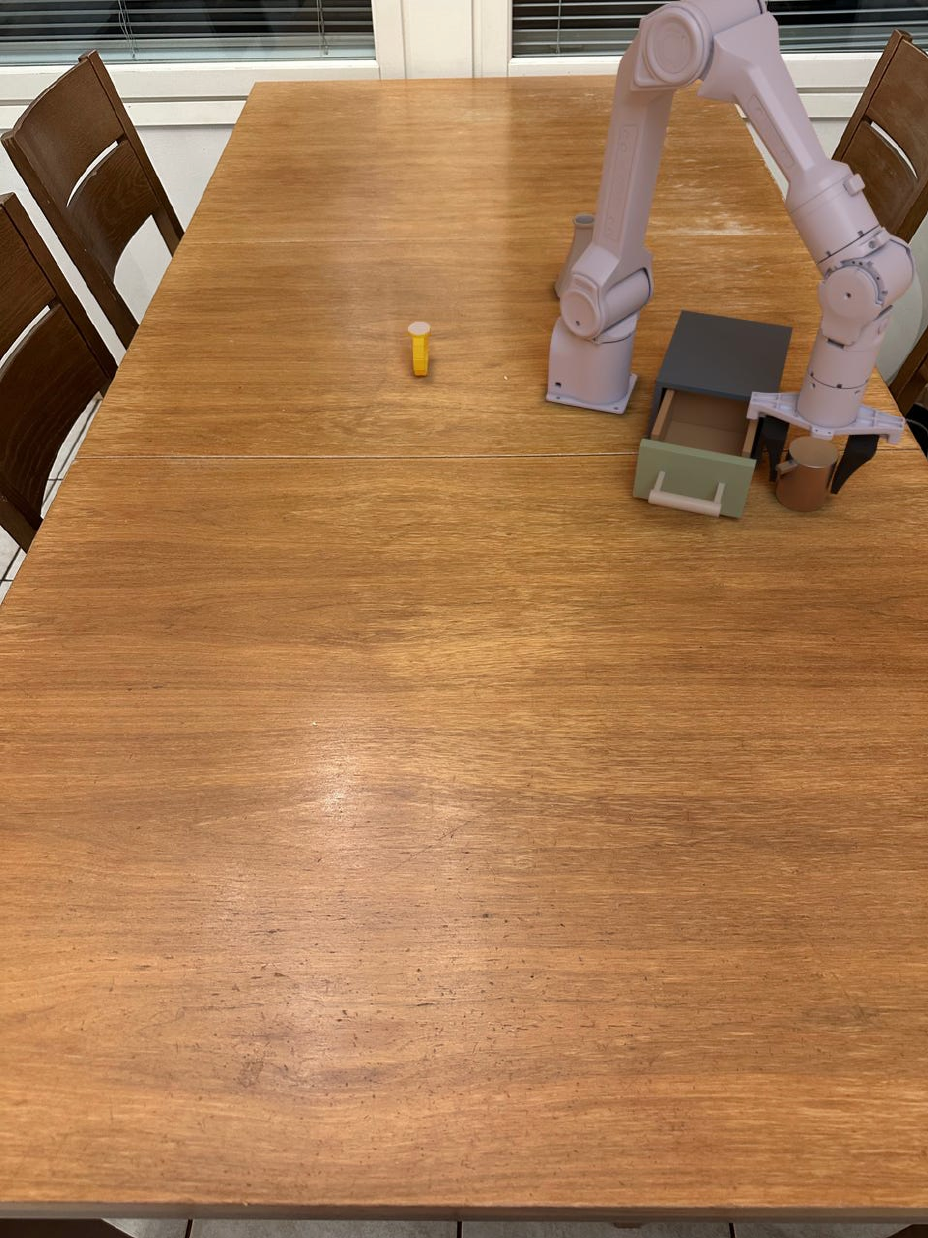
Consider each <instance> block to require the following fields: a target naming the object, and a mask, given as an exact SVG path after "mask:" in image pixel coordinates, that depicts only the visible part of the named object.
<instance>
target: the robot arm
mask: <svg viewBox="0 0 928 1238" xmlns="http://www.w3.org/2000/svg"><path fill="white" fill-rule="evenodd" d="M766 4H767V3H766V1H765V0H677V1H676V0H675V1H671V2H668V3H666V4H663V5H662V6H660V7H658V8H657V9H655V10H653V11H651V12H650V13H647V14H646V15H644V16H643V17H641V18H640V20H639V24H638V25H639V26H638V32H637V34H636V35H635V37H634V39H633V40H632V42H631V43H630V45H629V46H628V47H627V49H626V51H625V52H624V53H623V55H622V56H621V58H620V60H619V63H618V67H617V72H616V78H615V84H614V92H613V97H612V103H611V111H610V116H609V117H610V118H609V124H608V131H607V138H606V144H605V150H604V157H603V164H602V170H601V176H600V183H599V190H598V196H597V201H596V209H595V214H594V215H595V222H594V228H593V235H592V241H591V243H590V245H589V246H588V247H587V249H586V250H585V251H584V253H583V254H582V255H581V257H580V258H579V259H578V260H577V262H576V263H575V264H574V266H573V267H572V269H571V274H570V279H569V282H568V284H567V286H566V287H565V288H564V290H563V291H562V293H561V296H560V297H559V310H560V314H561V315H559V316H558V318H557V319H556V321H555V323H554V326H553V329H552V333H551V338H550V344H549V352H548V353H549V354H548V374H547V376H548V377H547V393H546V395H545V400H546V401H547V402H551V403H557V404H562V405H568V406H573V407H579V408H583V409H589V410H595V411H600V412H605V413H610V414H611V413H612V414H616V415H624V413H625V411H626V408H627V406H628V403H629V401H630V399H631V396H632V393H633V391H634V388H635V386H636V383H637V381H638V374H636V373H634V372H633V373H632V363H633V355H634V354H633V353H634V347H635V339H636V331H637V325H638V324H637V322H638V320H640V316H641V309H643V308H645V307H646V306H648V305H649V303H650V302H651V301H652V298H653V296H654V291H655V282H654V277H653V270H652V269H653V268H652V266H653V260H654V254H653V252H652V251H651V250H650V249H649V248H647V246H645V241H646V240H645V238H646V235H647V231H648V225H649V220H650V215H651V210H652V204H653V200H654V195H655V190H656V185H657V181H658V175H659V170H660V165H661V160H662V155H663V150H664V145H665V140H666V134H667V129H668V125H669V119H670V115H671V109H672V105H673V100H674V96H675V92H676V91H678V90H679V89H685V88H687V87H689V86H691V85H693V84H694V83H695V82H697V81H698V80H700V81H701V82H702V83H701V84H700V86H699V88H698V89H697V91H696V94H695V95H696V96H697V97H698V98H701V99H706V100H712V101H716V102H717V101H718V102H722V103H728V104H734V105H737V106H738V107H739V108H740V110H741V111H742V113H743V114H744V116H745V118H746V119H747V121H748V122H749V124H750V125H751V127H752V129H753V130H754V132H755V134H757V136H758V138H759V140H760V141H761V142H762V144H763V146H764V147H765V149H766V150H767V152H768V153H769V156H770V157H771V158H772V160H773V161H774V163H775V164H776V166H777V167H778V169H779V171H780V172H781V174H782V175H783V177H784V179H785V180H786V181H787V183H788V187H787V192H786V195H785V201H784V208H785V211H786V213H787V215H788V216H789V218H790V220H791V222H792V224H793V226H794V227H795V229H796V231H797V232H798V235H799V236H800V238H801V240H802V242H803V244H804V245H805V247H806V249H807V251H808V253H809V255H810V256H811V259H812V260H813V262H814V264H815V266H816V268H817V269H818V271H819V273H820V275H821V277H822V278H823V280H821V281H819V282H818V283H817V291H816V292H817V293H816V294H817V301H818V304H819V306H820V309H821V313H822V315H821V319H820V322H819V325H818V328H817V331H816V335H815V339H814V342H813V345H812V349H811V353H810V356H809V360H808V362H807V367H806V370H805V373H804V378H803V381H802V384H801V388H800V390H799V391H800V392H798V391H796V392H793V391H792V392H778V393H760V392H752V396H751V400H750V404H749V408H748V412H747V416H746V418H749V419H754V420H756V419H757V418H758V416H759V417H765V421H764V425H763V429H762V438H763V441H764V443H765V449H766V452H767V455H768V456H767V457H768V464H769V478H768V482H770V483H776V482H777V479H778V475H779V472H778V471H777V470H775V468H776V465H777V464H780V463H781V460H782V456H783V455H782V454H783V452H784V448H785V445H786V443H787V438H788V433H789V429H790V426H791V424H792V425H794V426H795V427H799V428H802V429H804V430H806V431H809V432H810V433H809V436H811V437H813V438H816V439H821V440H827V441H832V440H833V439H834V436H848V438H847V439H846V443H845V447H844V450H843V453H842V455H841V457H840V460H839V462H838V463H837V465H836V468H835V470H834V473H833V476H832V479H831V485H830V486H831V488H830V494H831V495H835V496H836V495H838V494H839V492H840V491H841V489H842V487H844V485H845V483H846V482H847V480H849V478H850V477H851V476H852V475H853V474H854V473H855V472H856V471H857V470H859V468H861V467H862V466H864V465H865V464H866V463H868V462H869V461H871V460H872V459H873V458H874V456H875V455H876V453H877V450H878V443H879V440H880V439H884V440H886V443H887V444H889V445H895V446H899V444H900V441H901V440H902V439H901V438H902V436H903V434H904V430H905V423H906V422H905V421H906V418H905V417H903V416H898V415H894V414H891V413H888V412H885V411H882V410H880V409H877V408H874V407H872V406H869V405H866V404H864V403H863V399H864V397H865V393H866V391H867V387H868V385H869V382H870V380H871V376H872V373H873V371H874V368H875V365H876V362H877V359H878V357H879V354H880V350H881V348H882V345H883V343H884V339H885V336H886V331H887V328H888V325H889V323H890V319H891V317H892V314H893V311H894V309H895V307H894V306H893V304H894V303H895V302H896V301H897V300H899V299H900V298H901V297H902V296H904V295H905V294H906V293H907V291H908V290H909V289H910V288H911V286H912V285H913V282H914V280H915V277H916V272H917V271H916V270H917V269H916V268H917V267H916V260H915V257H914V255H913V252H912V247H911V246H910V245H909V243H907V242H906V241H905V240H904V239H902V238H901V237H899V236H896V235H893V234H892V233H889V232H888V231H887V229H886V227H885V226H883V227H882V226H881V224H880V222H879V221H878V219H877V216H876V215H875V213H874V211H873V209H872V207H871V206H870V203H869V201H868V200H867V198H866V196H865V194H864V192H863V189H864V188H865V187H866V184H865V182H864V181H863V179H862V176H861V175H860V174H859V173H855V174H853V171H852V170H851V167H850V166H849V164H848V163H845V162H841V161H839V160H835V159H832V158H831V159H830V158H829V157H827V156H826V153H825V150H824V149H823V147H822V144H821V142H820V140H819V138H818V135H817V133H816V130H815V129H814V126H813V123H812V122H811V119H810V117H809V115H808V113H807V110H806V108H805V106H804V103H803V101H802V99H801V97H800V94H799V92H798V89H797V88H796V86H795V83H794V81H793V79H792V76H791V74H790V71H789V70H788V67H787V65H786V63H785V60H784V58H783V55H782V53H781V48H780V47H781V46H780V31H779V24H778V23H779V22H778V21H777V20H776V18H775V17H774V15H773V14H772V13H771V12H770V11H768V9H767V5H766Z"/></svg>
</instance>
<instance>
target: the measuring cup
mask: <svg viewBox="0 0 928 1238" xmlns="http://www.w3.org/2000/svg"><path fill="white" fill-rule="evenodd" d="M785 454H786V455H785V458H784V461H783V462H780V464H777V465H776V468H775V470H777V471H778V474H780V475H779V478H778V482H777V486H776V489H775V496H776V500H777V501H778V502H779V503H780V504H781V505H782V506H784V507H785V508H787V509H790V510H792V511H796V512H802V513H803V512H804V513H805V512H814V511H815V510H818V509H819V508H821V507H822V506H823V504H824V502H825V500H826V497H827V494H828V491H829V488H830V486H831V483H832V480H833V477H834V474H835V471H836V469H837V466H838V463H839V462H838V461H839V459H840V451H839V449H838V448H837V447H836V446H835V445H834V444H833V443H832V442H831V441H830V440H821V439H816V438H813V437H811V435H809V436H806V435H805V436H800V437H797V438H794V440H791V442H790V443H789V445H788V447H787V451H786V453H785Z"/></svg>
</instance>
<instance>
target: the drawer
mask: <svg viewBox="0 0 928 1238" xmlns="http://www.w3.org/2000/svg"><path fill="white" fill-rule="evenodd" d="M749 404H750V403H749V402H744V401H738V400H732V399H726V398H721V397H715V396H709V395H704V394H698V393H692V392H686V391H681V390H675V389H669V388H667V391H666V394H665V397H664V400H663V402H662V405H661V408H660V411H659V414H658V416H657V419H656V422H655V425H654V428H653V431H652V433H651V440H648V439H647V438H641V440H640V443H639V447H638V454H637V460H636V461H637V462H636V468H635V475H634V483H633V490H632V497H634V498H638V499H644V500H647V502H648V504H651V505H656V506H660V507H665V508H670V509H675V510H680V511H686V512H690V513H695V514H700V515H705V516H710V517H715V518H719V517H720V515H722V516H727V517H731V518H736V519H742V518H743V515H744V512H745V506H746V502H747V499H748V495H749V491H750V489H751V483H752V481H753V477H754V472H755V468H756V466H757V465H756V460H754V459H749V458H750V454H751V450H752V445H753V441H754V437H755V433H756V429H757V425H758V420H759V416H758V418H757V419H756V420H754V419H749V418H746V416H747V412H748V408H749Z"/></svg>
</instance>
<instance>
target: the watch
mask: <svg viewBox="0 0 928 1238" xmlns="http://www.w3.org/2000/svg"><path fill="white" fill-rule="evenodd" d="M431 333H432V331H431V325H430V324H429V323H428V322H425V321H415V322H412V323H410V324H409V325H408V327H407V336H408V337H409V338H411V339H412V365H413V374H414V375H415V376H419V377H420V376H427V375H428V367H429V337H430V336H431Z"/></svg>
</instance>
